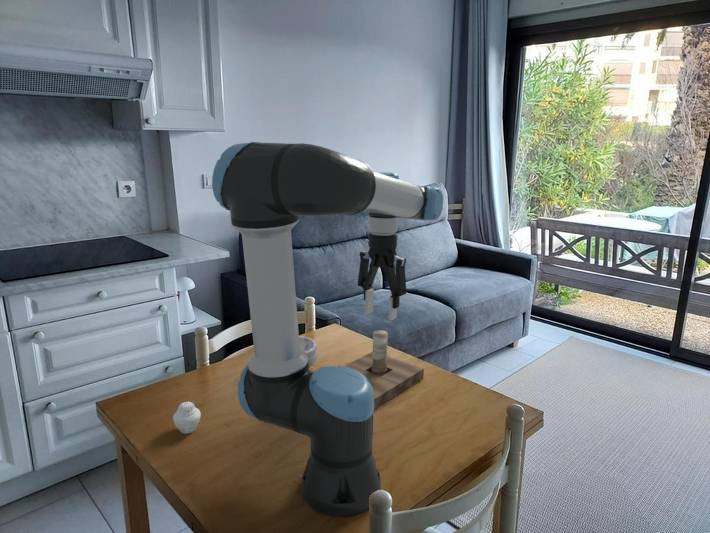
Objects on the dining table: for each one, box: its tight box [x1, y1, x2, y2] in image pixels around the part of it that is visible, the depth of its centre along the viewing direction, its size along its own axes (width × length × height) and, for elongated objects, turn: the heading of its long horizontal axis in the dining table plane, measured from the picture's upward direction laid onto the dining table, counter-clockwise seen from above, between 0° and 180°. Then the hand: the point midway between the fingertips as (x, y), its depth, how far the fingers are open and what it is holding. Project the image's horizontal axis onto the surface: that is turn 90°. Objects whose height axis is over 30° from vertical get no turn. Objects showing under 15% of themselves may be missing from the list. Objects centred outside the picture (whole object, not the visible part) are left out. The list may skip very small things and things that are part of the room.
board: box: [342, 351, 425, 411], centre depth 138 cm, size 24×18×3 cm
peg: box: [372, 330, 389, 376], centre depth 138 cm, size 4×4×14 cm
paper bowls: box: [299, 335, 318, 369], centre depth 144 cm, size 15×15×8 cm
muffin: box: [172, 401, 202, 434], centre depth 114 cm, size 6×6×7 cm
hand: (380, 315), depth 135 cm, fingers open, 7 cm apart
